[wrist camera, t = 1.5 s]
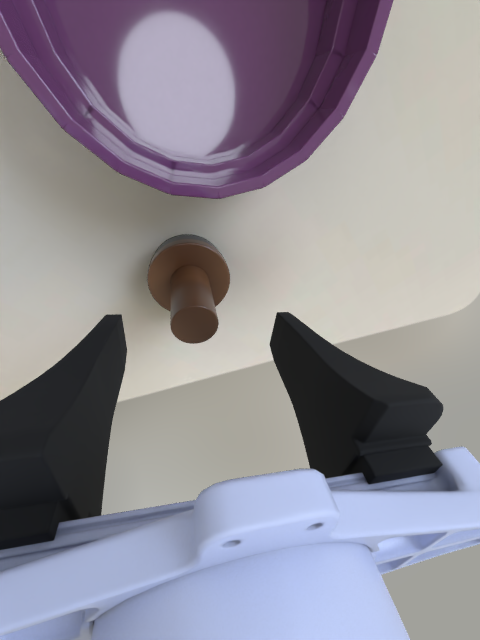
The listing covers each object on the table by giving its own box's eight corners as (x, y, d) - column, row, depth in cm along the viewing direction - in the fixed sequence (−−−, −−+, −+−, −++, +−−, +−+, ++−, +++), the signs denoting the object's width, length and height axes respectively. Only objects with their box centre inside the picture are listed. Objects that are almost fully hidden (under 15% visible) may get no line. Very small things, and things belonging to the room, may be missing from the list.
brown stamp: (180, 311, 23) (183, 376, 17) (132, 258, 20) (116, 317, 14) (238, 276, 22) (261, 332, 16) (198, 215, 19) (210, 259, 13)
